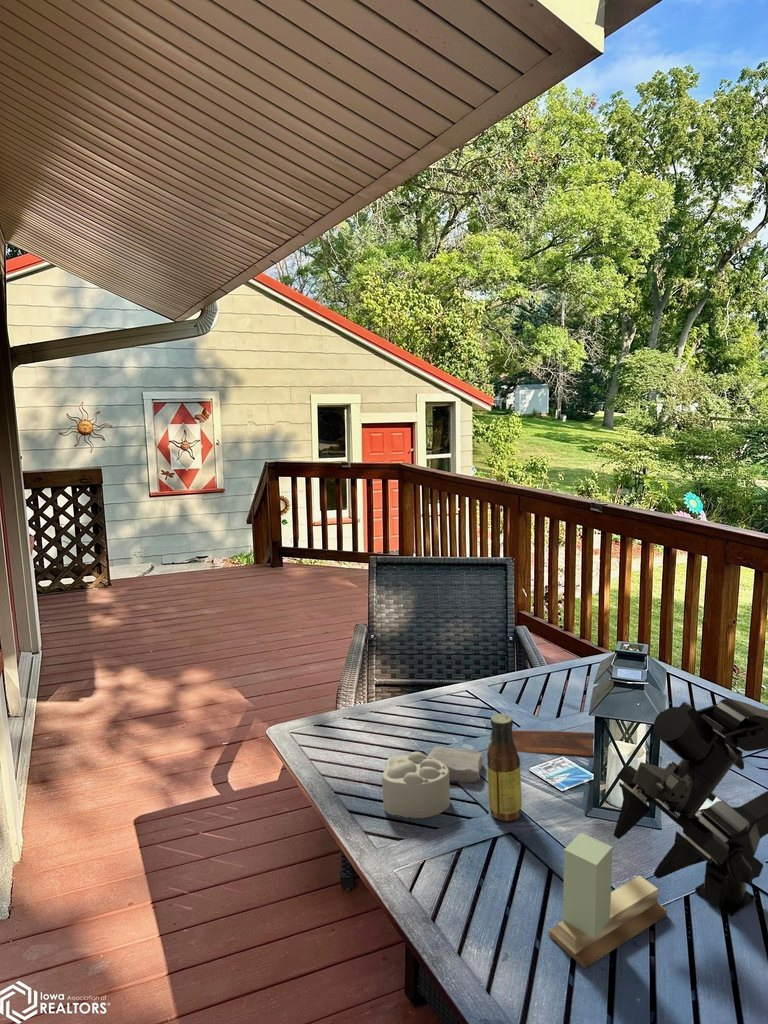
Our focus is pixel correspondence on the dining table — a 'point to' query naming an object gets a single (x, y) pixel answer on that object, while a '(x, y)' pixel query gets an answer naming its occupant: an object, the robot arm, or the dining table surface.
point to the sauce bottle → (503, 771)
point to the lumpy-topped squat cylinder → (415, 786)
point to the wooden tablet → (554, 742)
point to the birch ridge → (613, 923)
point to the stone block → (459, 763)
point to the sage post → (587, 884)
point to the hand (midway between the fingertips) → (635, 856)
